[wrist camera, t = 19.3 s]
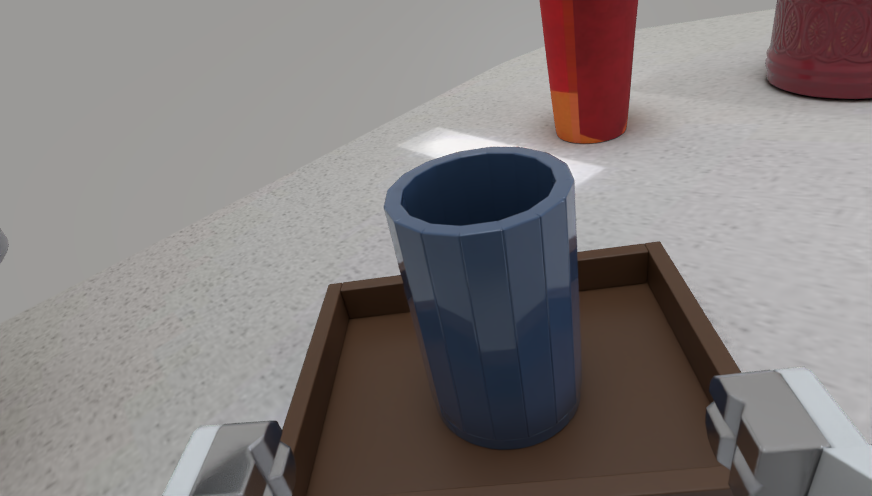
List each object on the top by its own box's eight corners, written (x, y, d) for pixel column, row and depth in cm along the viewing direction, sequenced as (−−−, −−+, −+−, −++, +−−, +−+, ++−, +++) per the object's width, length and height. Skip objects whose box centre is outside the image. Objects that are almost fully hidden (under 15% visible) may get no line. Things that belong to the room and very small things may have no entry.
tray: (274, 565, 19) (250, 525, 18) (340, 318, 31) (328, 283, 29) (795, 528, 17) (810, 481, 16) (657, 279, 29) (660, 240, 27)
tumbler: (432, 457, 21) (374, 246, 16) (436, 345, 27) (393, 161, 21) (596, 442, 21) (592, 217, 15) (566, 330, 26) (555, 136, 21)
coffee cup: (650, 113, 48) (657, -80, 40) (627, 151, 42) (631, -66, 34) (559, 112, 52) (549, -63, 44) (527, 146, 47) (510, -48, 39)
